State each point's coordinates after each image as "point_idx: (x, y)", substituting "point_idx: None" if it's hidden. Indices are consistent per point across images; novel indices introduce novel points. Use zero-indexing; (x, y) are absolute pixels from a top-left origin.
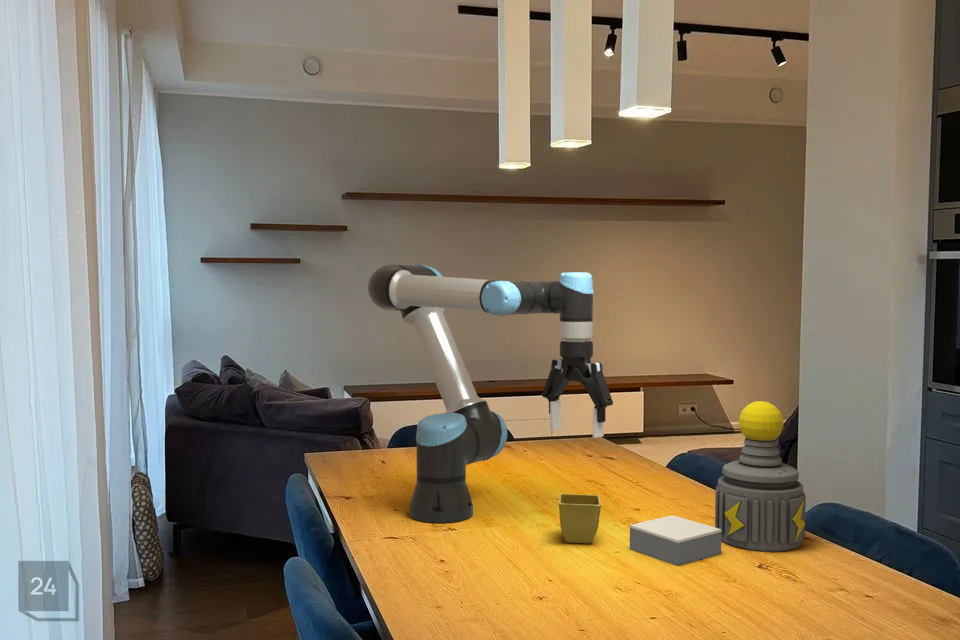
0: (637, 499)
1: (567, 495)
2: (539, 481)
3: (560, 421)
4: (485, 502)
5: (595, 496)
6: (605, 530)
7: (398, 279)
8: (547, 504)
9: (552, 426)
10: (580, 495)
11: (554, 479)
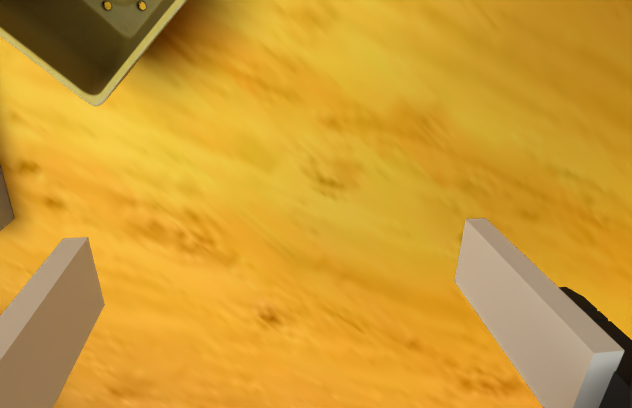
0: (330, 367)
1: (169, 8)
2: (600, 304)
3: (474, 306)
4: (603, 55)
5: (98, 92)
6: (166, 131)
7: None
8: (453, 182)
9: (476, 230)
10: (135, 49)
11: None
